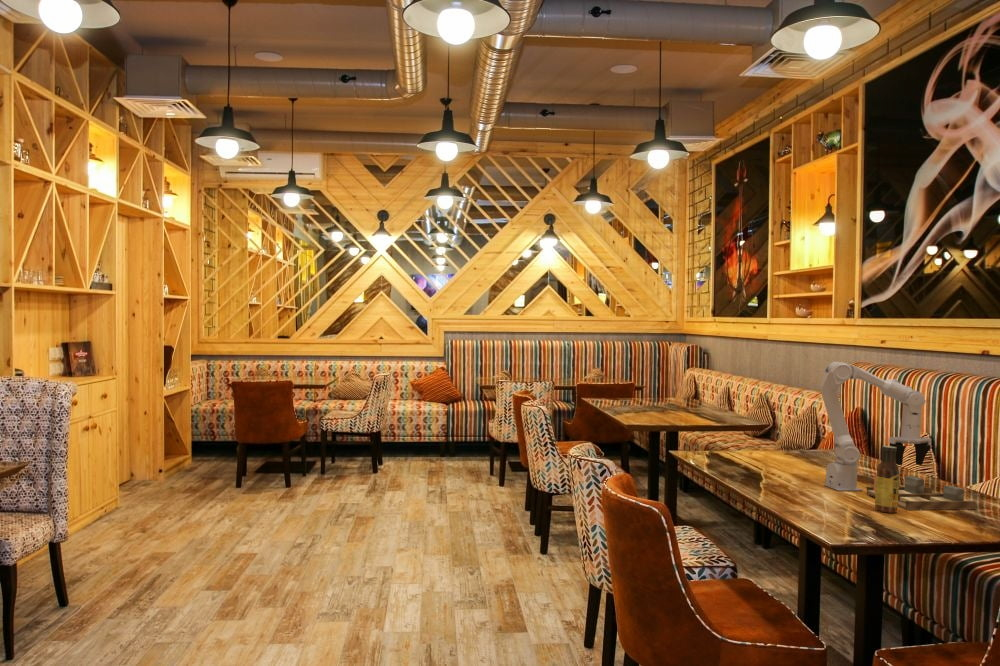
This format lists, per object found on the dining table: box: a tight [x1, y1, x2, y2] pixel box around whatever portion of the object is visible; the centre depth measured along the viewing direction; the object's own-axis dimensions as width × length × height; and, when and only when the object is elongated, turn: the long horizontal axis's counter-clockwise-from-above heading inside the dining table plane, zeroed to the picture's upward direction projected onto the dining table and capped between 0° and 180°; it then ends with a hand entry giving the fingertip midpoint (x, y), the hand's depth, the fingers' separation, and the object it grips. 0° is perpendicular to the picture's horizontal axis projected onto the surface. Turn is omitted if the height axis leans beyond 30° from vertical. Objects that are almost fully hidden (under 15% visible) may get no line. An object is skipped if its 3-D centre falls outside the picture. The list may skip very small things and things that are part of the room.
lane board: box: [866, 484, 976, 511], centre depth 233 cm, size 24×19×6 cm
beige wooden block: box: [868, 475, 925, 496], centre depth 237 cm, size 16×7×6 cm, turn 100°
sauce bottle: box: [874, 445, 901, 514], centre depth 220 cm, size 7×6×20 cm
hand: (908, 464), depth 244 cm, fingers open, 7 cm apart
